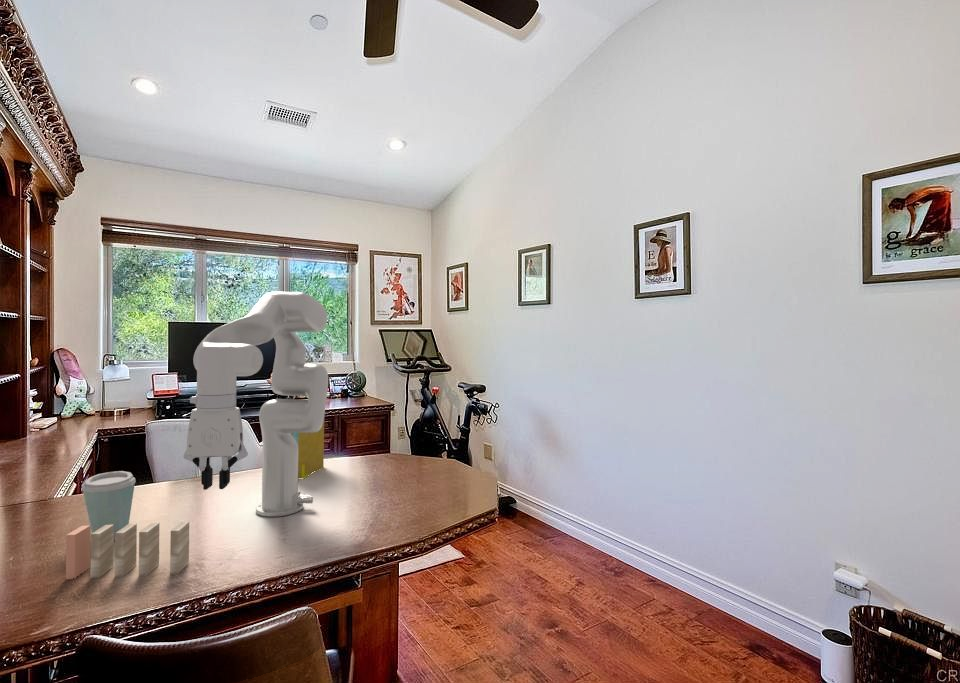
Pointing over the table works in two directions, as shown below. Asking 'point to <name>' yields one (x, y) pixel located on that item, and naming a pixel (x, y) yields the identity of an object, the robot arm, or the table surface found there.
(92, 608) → the table surface
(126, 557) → the domino
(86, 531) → the domino
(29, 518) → the table surface
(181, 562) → the domino
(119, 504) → the disposable coffee cup
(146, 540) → the domino
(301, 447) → the book
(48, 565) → the table surface
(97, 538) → the domino
